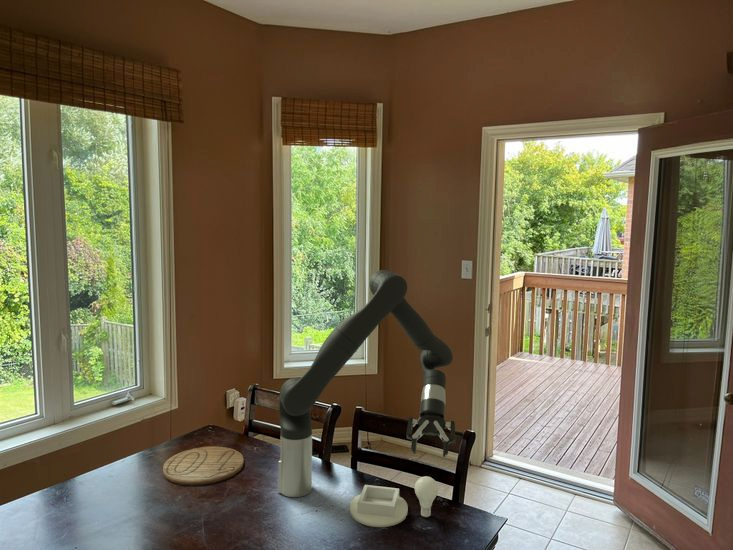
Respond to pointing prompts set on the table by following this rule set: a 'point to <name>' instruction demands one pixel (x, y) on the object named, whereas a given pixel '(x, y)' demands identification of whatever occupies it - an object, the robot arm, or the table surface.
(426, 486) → the lightbulb
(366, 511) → the lamp base
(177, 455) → the trivet
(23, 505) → the table surface
